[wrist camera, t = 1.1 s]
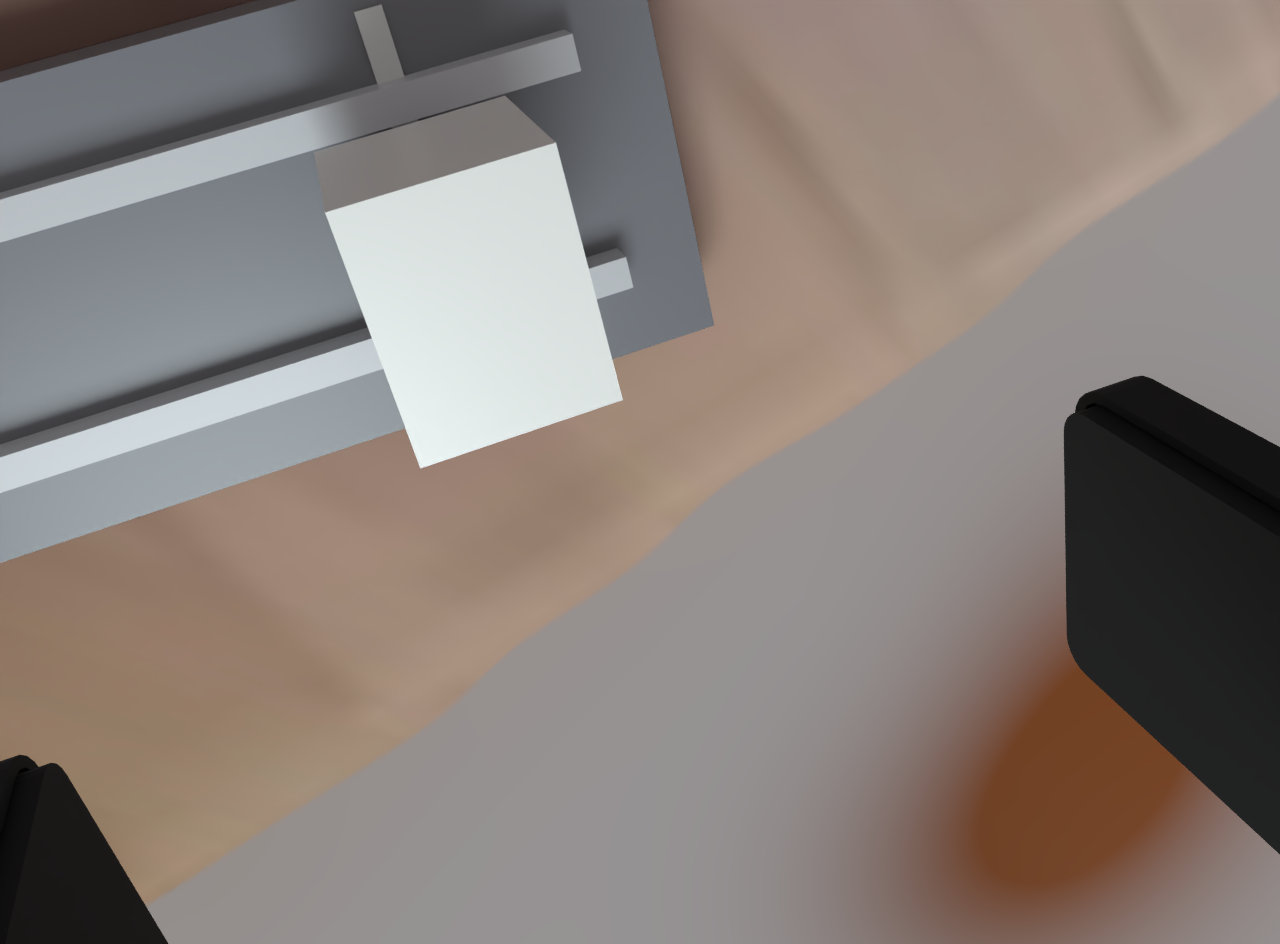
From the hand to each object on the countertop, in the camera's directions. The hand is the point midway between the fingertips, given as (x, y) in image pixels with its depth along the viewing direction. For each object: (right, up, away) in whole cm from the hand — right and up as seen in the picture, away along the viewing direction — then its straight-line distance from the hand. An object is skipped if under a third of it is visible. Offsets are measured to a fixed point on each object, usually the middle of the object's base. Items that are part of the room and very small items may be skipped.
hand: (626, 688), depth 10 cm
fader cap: (-5, +8, +16) cm, 18 cm away
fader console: (-13, +6, +17) cm, 22 cm away
